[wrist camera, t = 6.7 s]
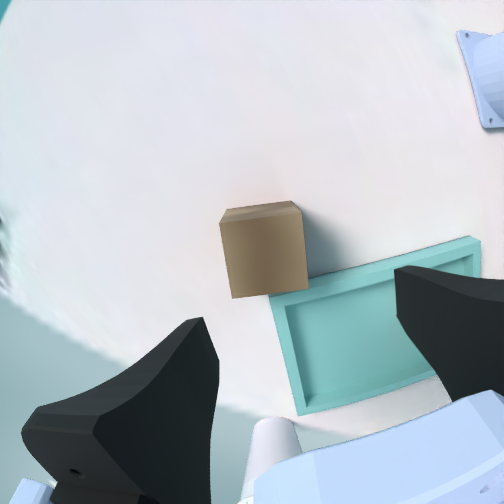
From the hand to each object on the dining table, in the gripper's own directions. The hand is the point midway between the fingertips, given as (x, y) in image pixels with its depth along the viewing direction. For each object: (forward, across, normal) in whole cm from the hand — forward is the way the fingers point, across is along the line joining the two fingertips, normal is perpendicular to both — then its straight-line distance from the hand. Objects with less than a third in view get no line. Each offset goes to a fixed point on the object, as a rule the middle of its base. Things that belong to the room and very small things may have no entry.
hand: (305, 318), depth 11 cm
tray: (+10, -6, +8) cm, 14 cm away
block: (+10, +1, -1) cm, 10 cm away
